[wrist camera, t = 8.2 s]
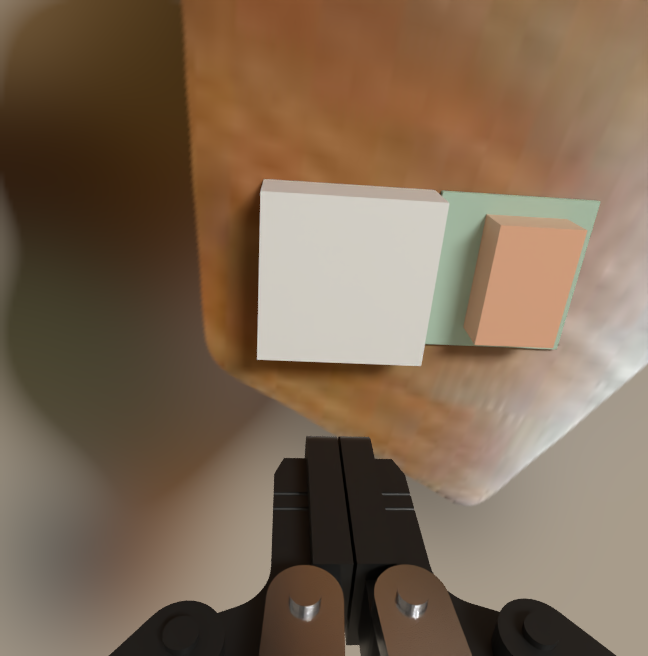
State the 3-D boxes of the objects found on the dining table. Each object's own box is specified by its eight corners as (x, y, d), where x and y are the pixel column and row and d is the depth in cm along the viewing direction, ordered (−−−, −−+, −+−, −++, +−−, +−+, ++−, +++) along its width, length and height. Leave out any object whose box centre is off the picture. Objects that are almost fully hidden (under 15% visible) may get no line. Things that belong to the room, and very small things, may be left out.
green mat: (441, 190, 38) (443, 191, 37) (597, 200, 38) (600, 201, 38) (416, 341, 43) (417, 343, 42) (554, 347, 44) (556, 349, 43)
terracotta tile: (587, 230, 36) (567, 219, 39) (501, 225, 35) (486, 214, 38) (553, 348, 40) (536, 330, 42) (474, 344, 39) (463, 327, 42)
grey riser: (263, 179, 37) (260, 191, 33) (434, 190, 38) (449, 202, 34) (260, 334, 42) (257, 359, 38) (410, 340, 43) (421, 366, 39)
